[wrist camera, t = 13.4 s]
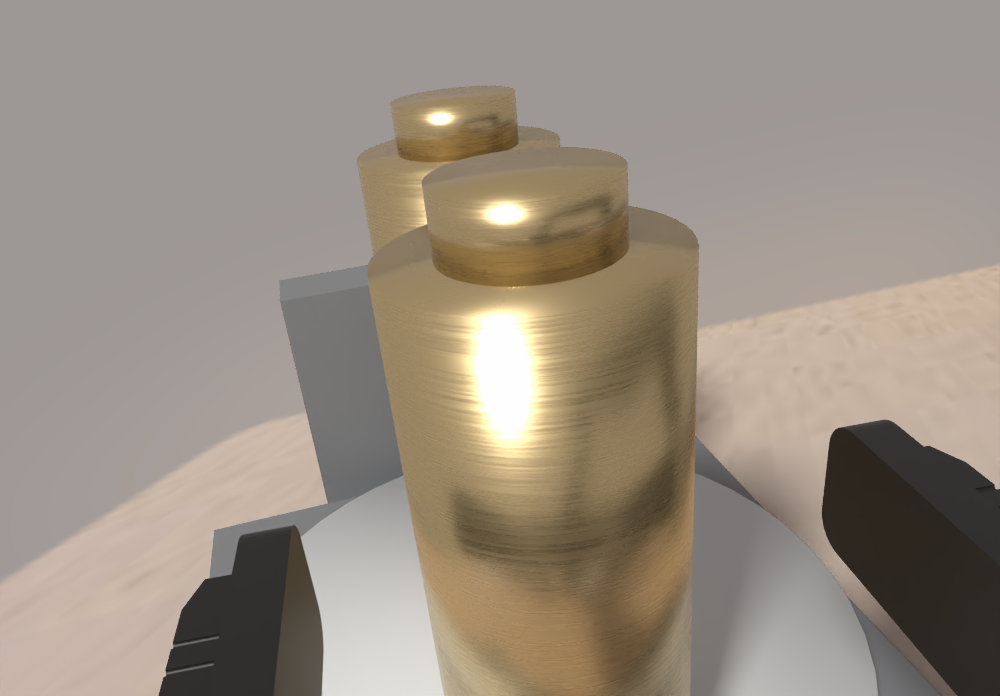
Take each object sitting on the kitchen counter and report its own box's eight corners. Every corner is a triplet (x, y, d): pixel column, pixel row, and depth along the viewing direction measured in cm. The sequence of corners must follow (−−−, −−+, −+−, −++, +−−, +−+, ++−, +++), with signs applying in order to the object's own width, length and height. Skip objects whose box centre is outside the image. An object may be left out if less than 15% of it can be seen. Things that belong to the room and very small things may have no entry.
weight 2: (572, 638, 20) (534, 124, 14) (736, 765, 17) (773, 151, 11) (416, 761, 18) (291, 188, 12) (572, 945, 14) (504, 253, 8)
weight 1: (510, 465, 28) (470, 76, 22) (615, 528, 24) (601, 84, 18) (392, 532, 25) (310, 108, 19) (491, 615, 21) (428, 125, 15)
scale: (652, 449, 35) (650, 209, 30) (1071, 955, 17) (1243, 554, 12) (237, 548, 31) (158, 295, 26) (193, 1329, 13) (-86, 978, 8)
